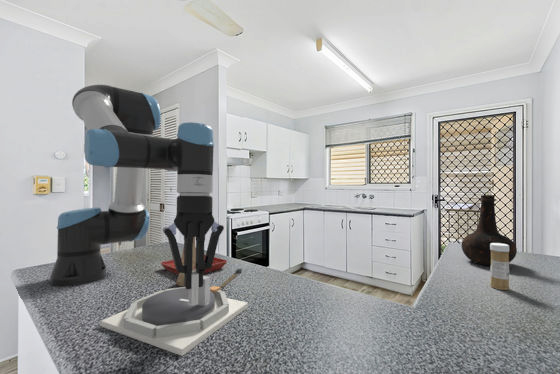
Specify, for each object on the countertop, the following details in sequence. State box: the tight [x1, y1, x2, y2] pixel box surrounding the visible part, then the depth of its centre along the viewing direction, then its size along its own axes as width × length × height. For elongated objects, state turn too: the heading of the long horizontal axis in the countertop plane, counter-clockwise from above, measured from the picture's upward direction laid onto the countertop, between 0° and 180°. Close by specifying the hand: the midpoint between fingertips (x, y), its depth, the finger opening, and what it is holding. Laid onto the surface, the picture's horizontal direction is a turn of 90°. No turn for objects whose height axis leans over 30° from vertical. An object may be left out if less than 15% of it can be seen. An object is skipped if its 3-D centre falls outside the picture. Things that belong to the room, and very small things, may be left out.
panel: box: [100, 285, 249, 357], centre depth 63 cm, size 24×22×4 cm
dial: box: [142, 275, 215, 326], centre depth 63 cm, size 16×16×8 cm
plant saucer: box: [160, 254, 228, 276], centre depth 101 cm, size 18×18×3 cm
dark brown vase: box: [460, 194, 518, 267], centre depth 109 cm, size 18×18×28 cm
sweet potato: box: [175, 237, 196, 288], centre depth 84 cm, size 6×18×6 cm
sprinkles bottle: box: [490, 243, 510, 291], centre depth 82 cm, size 5×5×14 cm
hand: (193, 302), depth 58 cm, fingers closed
